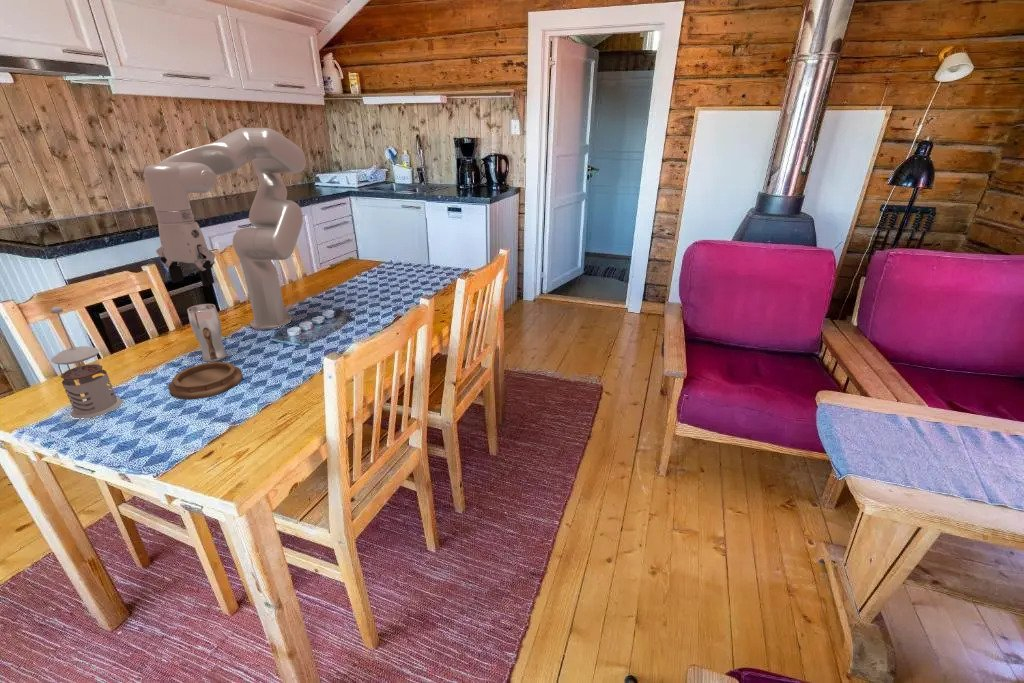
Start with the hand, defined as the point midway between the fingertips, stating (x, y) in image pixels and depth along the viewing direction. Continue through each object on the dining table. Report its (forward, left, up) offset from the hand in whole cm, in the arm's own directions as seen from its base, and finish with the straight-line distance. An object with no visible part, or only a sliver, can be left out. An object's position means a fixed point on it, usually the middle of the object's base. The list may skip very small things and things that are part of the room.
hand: (193, 282), depth 125 cm
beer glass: (0, 0, -22) cm, 22 cm away
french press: (+29, -6, -22) cm, 37 cm away
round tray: (+13, +10, -22) cm, 27 cm away
